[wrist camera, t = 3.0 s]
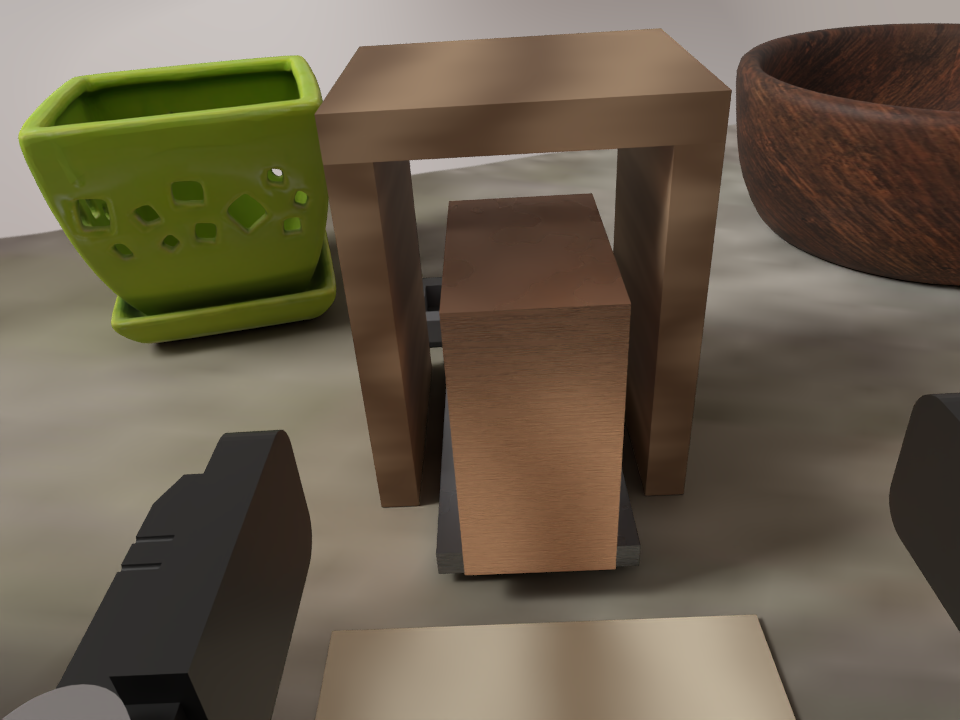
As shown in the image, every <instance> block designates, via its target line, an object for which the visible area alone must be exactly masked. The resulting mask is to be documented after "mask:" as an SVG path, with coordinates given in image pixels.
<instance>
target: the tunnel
mask: <svg viewBox="0 0 960 720" xmlns="http://www.w3.org/2000/svg"><path fill="white" fill-rule="evenodd" d="M731 93H732V90H731V89H730V88H728V86H726V85H725V84H724V83H723V82H722V81H721V80H719V79H718V78H717V77H716V76H715V75H714V74H713V73H711V72H710V71H709V70H708V69H707V68H706V67H705V66H703V65H702V64H701V63H700V62H699V61H698V60H697V59H695V58H694V57H693V56H692V55H691V54H690V53H688V52H687V51H686V50H685V49H684V48H683V47H681V46H680V45H679V44H678V43H677V42H676V41H675V40H674V39H672V38H671V37H670V36H669V35H668V34H667V33H665V32H664V31H663V30H662V29H643V30H626V31H610V32H593V33H577V34H560V35H544V36H527V37H511V38H494V39H479V40H461V41H445V42H428V43H412V44H395V45H378V46H362V47H359V48H358V50H357V51H356V53H355V54H354V56H353V57H352V59H351V60H350V62H349V63H348V65H347V66H346V68H345V69H344V71H343V72H342V74H341V75H340V77H339V78H338V80H337V81H336V83H335V84H334V86H333V87H332V89H331V90H330V92H329V93H328V95H327V96H326V98H325V100H324V101H323V102H322V104H321V105H320V107H319V108H318V110H317V111H316V113H315V114H314V115H315V121H316V126H317V132H318V138H319V144H320V150H321V156H322V161H323V167H324V173H325V179H326V185H327V191H328V196H329V202H330V208H331V214H332V220H333V226H334V231H335V237H336V243H337V249H338V255H339V261H340V266H341V272H342V278H343V284H344V290H345V296H346V301H347V307H348V313H349V319H350V325H351V331H352V336H353V342H354V348H355V354H356V360H357V365H358V371H359V377H360V383H361V389H362V395H363V400H364V406H365V412H366V418H367V424H368V430H369V435H370V441H371V447H372V453H373V459H374V465H375V470H376V476H377V482H378V488H379V494H380V500H381V505H382V507H395V506H418V505H419V502H420V491H421V480H422V469H423V458H424V447H425V436H426V425H427V414H428V403H429V393H430V382H431V371H432V365H431V356H430V347H429V337H428V328H427V319H426V310H425V300H424V291H423V282H422V273H421V263H420V254H419V245H418V236H417V227H416V217H415V208H414V199H413V190H412V180H411V171H410V162H409V160H420V159H421V160H422V159H440V158H457V157H473V156H474V157H475V156H493V155H510V154H528V153H546V152H564V151H582V150H600V149H618V155H617V179H616V202H615V226H614V249H613V254H614V257H615V260H616V262H617V265H618V268H619V271H620V274H621V277H622V279H623V282H624V285H625V288H626V291H627V294H628V296H629V299H630V302H631V314H630V331H629V348H628V365H627V382H626V399H625V416H624V418H625V421H626V425H627V429H628V432H629V436H630V440H631V444H632V447H633V451H634V455H635V459H636V462H637V466H638V470H639V474H640V477H641V481H642V485H643V489H644V492H645V496H649V495H672V494H684V486H685V477H686V469H687V461H688V452H689V444H690V435H691V427H692V419H693V410H694V402H695V394H696V385H697V377H698V369H699V360H700V352H701V343H702V335H703V327H704V318H705V310H706V302H707V293H708V285H709V277H710V268H711V260H712V251H713V243H714V235H715V226H716V218H717V210H718V201H719V193H720V185H721V176H722V168H723V159H724V151H725V143H726V134H727V126H728V117H729V109H730V101H731Z"/></svg>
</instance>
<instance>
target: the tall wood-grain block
mask: <svg viewBox="0 0 960 720" xmlns="http://www.w3.org/2000/svg"><path fill="white" fill-rule="evenodd" d="M630 314H631V302H630V299H629V296H628V294H627V291H626V288H625V285H624V282H623V279H622V277H621V274H620V271H619V268H618V265H617V262H616V260H615V257H614V254H613V251H612V248H611V245H610V243H609V240H608V237H607V234H606V231H605V228H604V226H603V223H602V220H601V217H600V214H599V211H598V209H597V206H596V203H595V200H594V197H593V194H592V193H591V194H573V195H554V196H536V197H517V198H499V199H481V200H462V201H449V206H448V218H447V230H446V241H445V253H444V265H443V276H442V288H441V299H440V311H439V316H440V326H441V336H442V346H443V357H444V367H445V377H446V400H445V417H444V434H443V450H442V467H441V483H440V500H439V517H438V533H437V550H436V556H437V564H438V572H439V574H446V573H465V575H485V574H510V573H534V572H559V571H584V570H608V569H616V567H618V566H639V557H640V542H639V537H638V533H637V529H636V525H635V521H634V517H633V512H632V508H631V504H630V500H629V496H628V492H627V488H626V483H625V479H624V475H623V471H622V450H623V433H624V416H625V399H626V382H627V365H628V348H629V331H630Z"/></svg>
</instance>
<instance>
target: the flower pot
mask: <svg viewBox="0 0 960 720" xmlns="http://www.w3.org/2000/svg"><path fill="white" fill-rule="evenodd" d="M322 102H323V100H322V96H321V92H320V88H319V85H318V83H317V80H316V77H315V75H314V74H313V72H312V70H311V68H310V66H309V65H308V63H307V62H306V60H305V59H304V58H303V57H301V56H298V55H297V56H278V57H267V58H266V57H265V58H254V59H242V60H232V61H221V62H211V63H200V64H190V65H179V66H169V67H159V68H148V69H140V70H129V71H120V72H110V73H101V74H93V75H86V76H79V77H74V78H72V79H70V80H69V81H67V82H66V83H64V84H63V85H62V86H61V87H59V88H58V89H57V90H56V91H55V92H53V93H52V94H51V95H50V96H49V97H48V98H47V99H46V100H45V101H44V102H43V103H42V104H41V105H40V106H39V107H38V108H37V109H36V110H35V111H34V112H33V114H32V115H31V116H30V117H29V118H28V119H27V120H26V122H25V123H24V125H23V126H22V128H21V130H20V132H19V137H18V139H19V143H20V147H21V150H22V152H23V155H24V158H25V160H26V162H27V164H28V166H29V169H30V171H31V173H32V175H33V177H34V179H35V181H36V183H37V185H38V187H39V189H40V191H41V193H42V194H43V197H44V198H45V200H46V202H47V204H48V206H49V208H50V209H51V211H52V213H53V214H54V216H55V217H56V219H57V221H58V222H59V224H60V226H61V227H62V229H63V231H64V232H65V234H66V236H67V237H68V238H69V240H70V241H71V243H72V244H73V246H74V247H75V249H76V250H77V251H78V253H79V254H80V255H81V257H82V258H83V259H84V261H85V262H86V263H87V264H88V266H89V267H90V268H91V269H92V270H93V271H94V273H95V274H96V275H97V276H98V277H99V278H100V279H101V280H102V281H103V282H104V283H105V284H106V285H107V286H108V287H109V288H110V289H111V290H112V291H113V292H114V293H115V294H117V299H116V302H115V306H114V310H113V314H112V319H111V325H112V328H113V329H114V330H115V331H116V332H117V333H119V334H120V335H122V336H124V337H126V338H128V339H131V340H134V341H137V342H141V343H159V342H167V341H175V340H181V339H188V338H195V337H201V336H208V335H214V334H220V333H227V332H233V331H239V330H246V329H252V328H258V327H264V326H270V325H276V324H282V323H289V322H295V321H300V320H310V319H313V318H316V317H318V316H320V315H322V314H323V313H324V312H325V311H326V310H328V308H329V307H330V306H331V305H332V303H333V302H334V299H335V297H336V281H335V275H334V269H333V263H332V258H331V252H330V248H329V243H328V238H327V233H326V221H327V212H328V200H329V196H328V191H327V185H326V179H325V173H324V167H323V161H322V156H321V150H320V144H319V138H318V132H317V126H316V121H315V115H314V114H315V113H316V111H317V110H318V108H319V107H320V105H321V104H322ZM272 169H280V170H281V171H282V175H281V176H277V175H275V174H274V173H273V172H272Z"/></svg>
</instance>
